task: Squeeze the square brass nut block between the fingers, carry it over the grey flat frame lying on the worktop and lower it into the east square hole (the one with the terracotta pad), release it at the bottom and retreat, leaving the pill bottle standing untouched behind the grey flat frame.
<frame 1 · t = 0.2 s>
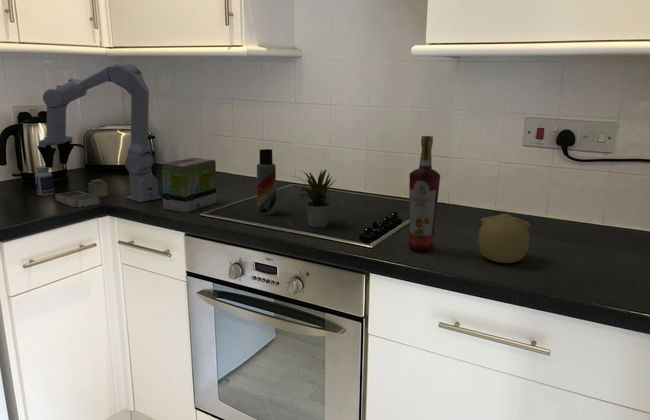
hand: (56, 165, 180), 10 cm above the worktop, tool pointing down, fingers open, 7 cm apart
pill bottle: (46, 194, 184), on the worktop
tea box: (191, 206, 171), on the worktop
liquor: (420, 249, 132), on the worktop
grey flat frame: (77, 201, 174), on the worktop
lotion bottle: (266, 213, 164), on the worktop
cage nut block: (98, 195, 183), on the worktop
sculpture: (501, 259, 126), on the worktop
house plant: (316, 224, 153), on the worktop
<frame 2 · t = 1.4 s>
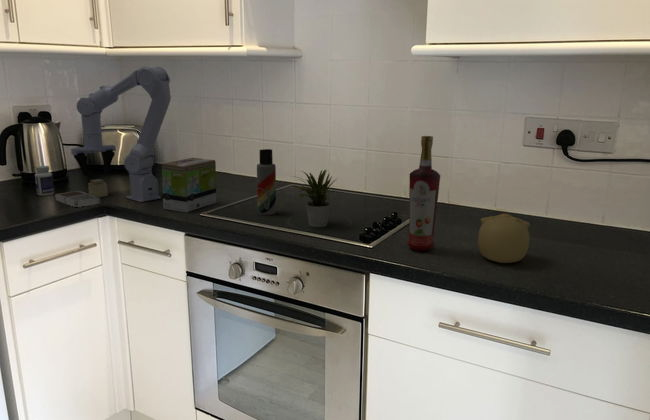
hand: (96, 173, 181), 8 cm above the worktop, tool pointing down, fingers open, 7 cm apart
nothing on the worktop moved.
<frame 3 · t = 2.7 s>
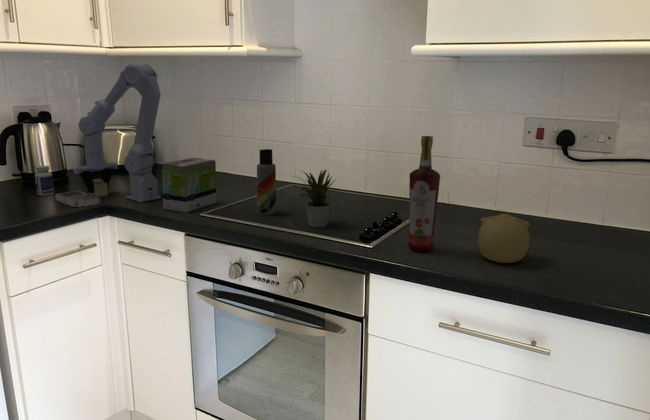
hand: (98, 191, 183), 1 cm above the worktop, tool pointing down, fingers closed on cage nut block, 4 cm apart
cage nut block: (98, 195, 183), on the worktop, touching gripper
everything else where it was.
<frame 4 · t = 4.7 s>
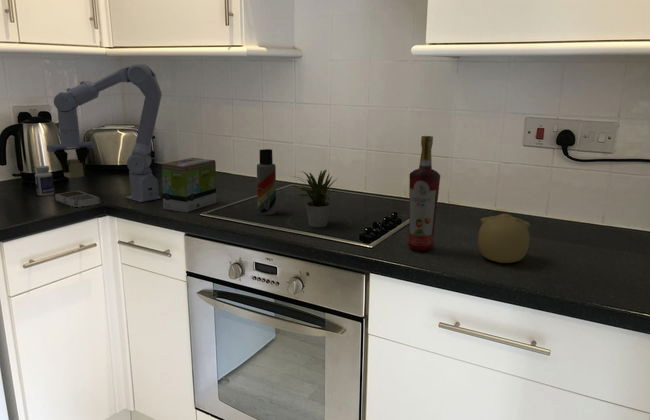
hand: (73, 171, 175), 9 cm above the worktop, tool pointing down, fingers closed on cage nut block, 4 cm apart
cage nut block: (74, 176, 176), point 8 cm above the worktop, touching gripper
everything else where it was.
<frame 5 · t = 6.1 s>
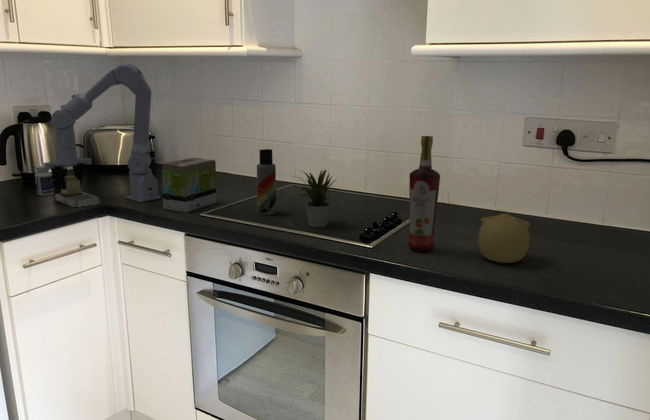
hand: (71, 188, 175), 4 cm above the worktop, tool pointing down, fingers closed on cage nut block, 4 cm apart
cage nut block: (71, 192, 176), point 2 cm above the worktop, touching gripper
everything else where it was.
when the fingers open (2 cm above the worktop, at t = 7.0 s): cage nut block stays where it is, resting on grey flat frame.
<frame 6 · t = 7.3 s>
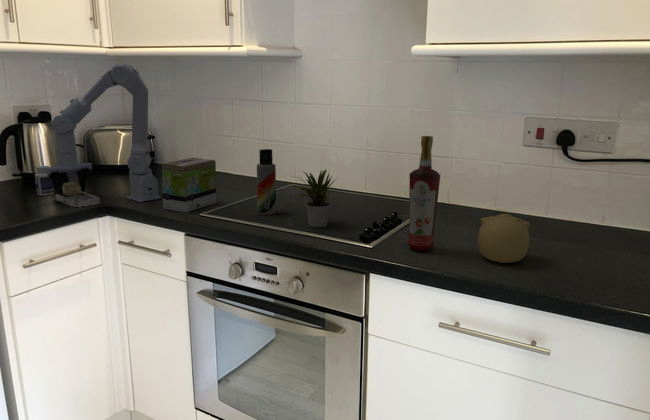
hand: (71, 192, 176), 2 cm above the worktop, tool pointing down, fingers open, 7 cm apart
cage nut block: (72, 199, 177), resting on grey flat frame
everything else where it was.
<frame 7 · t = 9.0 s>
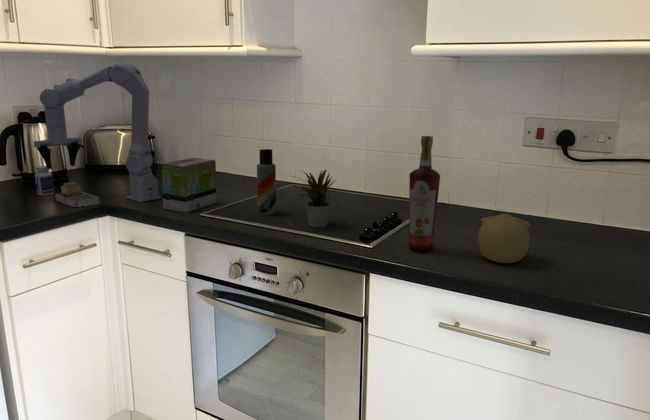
hand: (61, 167, 178), 10 cm above the worktop, tool pointing down, fingers open, 7 cm apart
nothing on the worktop moved.
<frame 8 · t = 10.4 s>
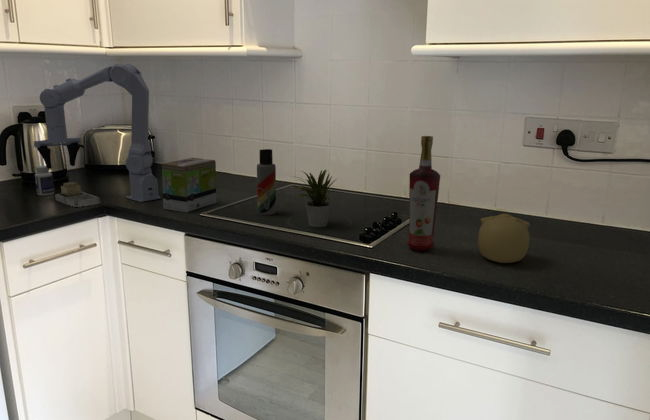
hand: (61, 167, 178), 10 cm above the worktop, tool pointing down, fingers open, 7 cm apart
nothing on the worktop moved.
at the end: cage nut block 0.1 cm from the target spot on the grey flat frame, point 0.2 cm above the grey flat frame's base; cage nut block tilted 0°; the gripper is holding nothing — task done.
